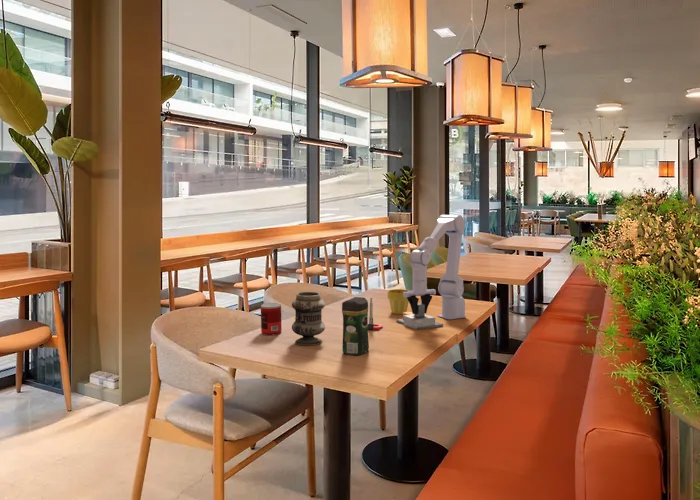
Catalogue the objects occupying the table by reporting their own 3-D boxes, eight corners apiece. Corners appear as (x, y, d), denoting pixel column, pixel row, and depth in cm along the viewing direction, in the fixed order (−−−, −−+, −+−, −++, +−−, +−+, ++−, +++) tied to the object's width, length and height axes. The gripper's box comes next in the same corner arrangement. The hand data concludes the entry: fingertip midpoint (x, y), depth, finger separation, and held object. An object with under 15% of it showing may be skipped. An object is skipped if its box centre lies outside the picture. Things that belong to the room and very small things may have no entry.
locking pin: (420, 322, 232) (420, 303, 231) (424, 324, 230) (424, 304, 228) (413, 323, 231) (414, 303, 230) (418, 324, 228) (418, 305, 227)
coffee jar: (351, 347, 200) (350, 294, 198) (371, 349, 197) (371, 296, 195) (338, 354, 191) (338, 299, 189) (360, 357, 188) (359, 301, 186)
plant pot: (411, 314, 251) (411, 293, 250) (388, 315, 251) (388, 293, 250) (409, 310, 261) (409, 288, 260) (387, 310, 261) (387, 289, 260)
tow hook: (363, 326, 233) (359, 330, 224) (363, 294, 232) (360, 297, 223) (383, 326, 232) (381, 331, 223) (383, 295, 231) (381, 298, 222)
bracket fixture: (420, 318, 243) (420, 309, 243) (442, 326, 229) (443, 316, 229) (395, 321, 238) (395, 312, 237) (417, 330, 224) (417, 320, 223)
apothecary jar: (312, 348, 198) (311, 297, 196) (285, 343, 205) (284, 294, 203) (331, 340, 208) (331, 292, 207) (305, 336, 215) (304, 289, 213)
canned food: (284, 331, 223) (284, 303, 222) (275, 336, 216) (275, 307, 215) (267, 329, 226) (266, 302, 225) (257, 334, 218) (257, 306, 217)
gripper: (428, 277, 235) (428, 309, 236) (398, 280, 228) (398, 313, 230) (439, 279, 229) (438, 313, 230) (408, 282, 222) (408, 316, 223)
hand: (419, 313), depth 230 cm, fingers open, 4 cm apart
